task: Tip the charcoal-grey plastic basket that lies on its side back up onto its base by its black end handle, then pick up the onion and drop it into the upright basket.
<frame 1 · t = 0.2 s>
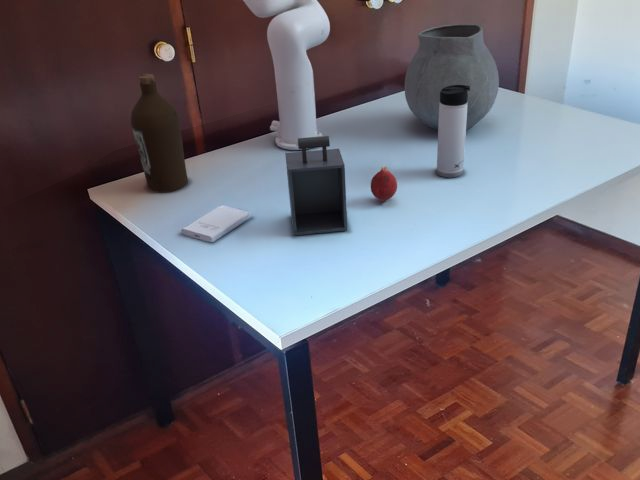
hard drive: (217, 227, 150), on the table
olive oil: (167, 185, 168), on the table
basket: (315, 180, 143), point 10 cm above the table, hinge at 89.0°
travel mug: (450, 173, 168), on the table
onion: (383, 202, 156), on the table
ceramic pot: (449, 127, 192), on the table
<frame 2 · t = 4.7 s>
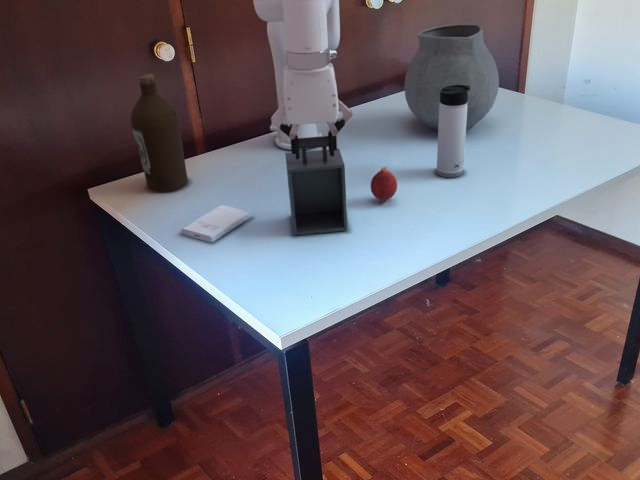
hand: (314, 154, 138), 16 cm above the table, tool pointing down, fingers closed on basket, 6 cm apart
basket: (315, 180, 143), point 10 cm above the table, hinge at 89.0°, touching gripper
everything else where it was.
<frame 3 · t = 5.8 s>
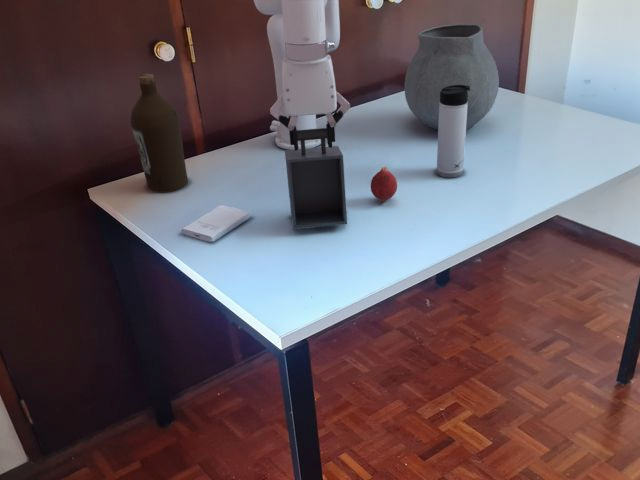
hand: (312, 145, 140), 16 cm above the table, tool pointing down, fingers closed on basket, 6 cm apart
basket: (315, 175, 144), point 10 cm above the table, hinge at 80.7°, touching gripper
everything else where it was.
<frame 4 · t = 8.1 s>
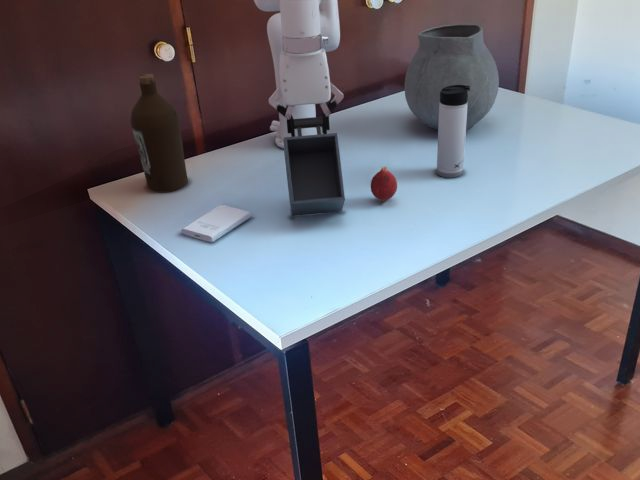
hand: (308, 134, 149), 15 cm above the table, tool pointing down, fingers closed on basket, 6 cm apart
basket: (312, 164, 148), point 10 cm above the table, hinge at 48.7°, touching gripper
everything else where it was.
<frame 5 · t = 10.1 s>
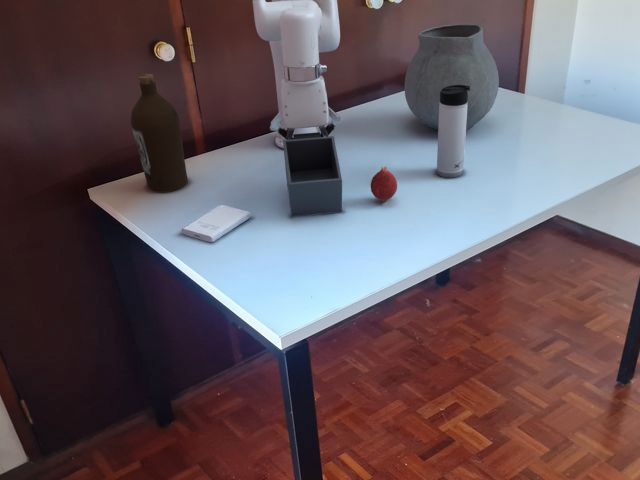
hand: (308, 154, 160), 7 cm above the table, tool pointing down, fingers closed on basket, 6 cm apart
basket: (311, 168, 154), point 7 cm above the table, hinge at 18.6°, touching gripper
everything else where it was.
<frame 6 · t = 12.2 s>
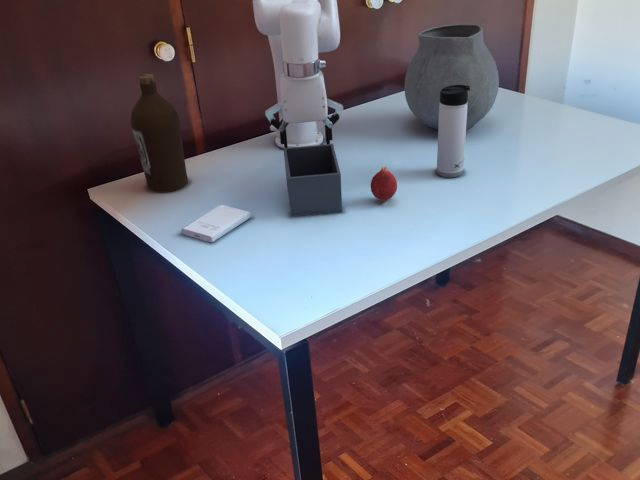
hand: (306, 145, 161), 9 cm above the table, tool pointing down, fingers open, 9 cm apart
basket: (311, 174, 156), point 5 cm above the table, hinge at 5.2°
everything else where it was.
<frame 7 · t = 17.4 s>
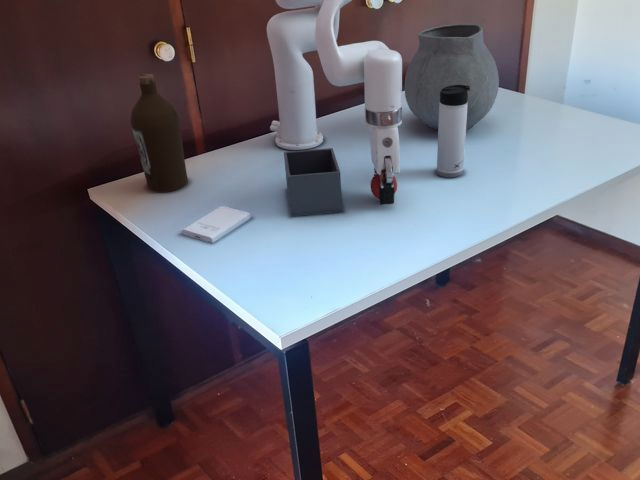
hand: (383, 196, 155), 1 cm above the table, tool pointing down, fingers closed on onion, 6 cm apart
basket: (311, 177, 157), point 5 cm above the table, hinge at -0.1°
onion: (383, 202, 156), on the table, touching gripper
everything else where it was.
when the fingers open (7 cm above the table, at t = 23.5 s): onion drops 4 cm, resting on basket.
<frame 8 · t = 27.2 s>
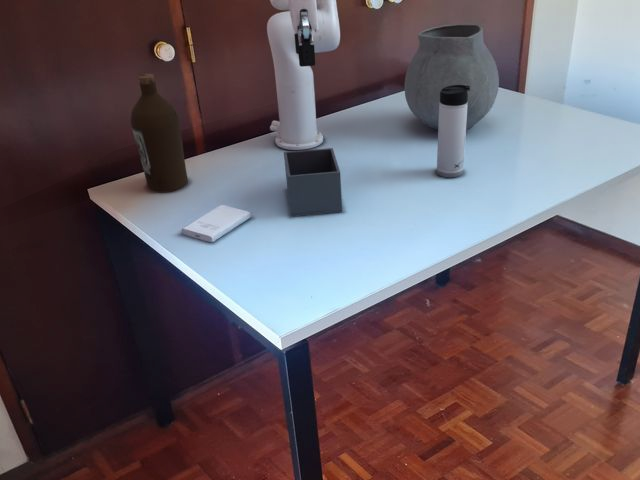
hand: (305, 59, 147), 28 cm above the table, tool pointing down, fingers open, 9 cm apart
basket: (311, 177, 157), point 5 cm above the table, hinge at -0.1°, touching onion
onion: (313, 194, 157), point 2 cm above the table, touching basket
everything else where it was.
at the end: basket at +0° (first picture: +89°); onion inside the target area on the basket (0.1 cm from its centre), point 1.5 cm above the basket's base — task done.
